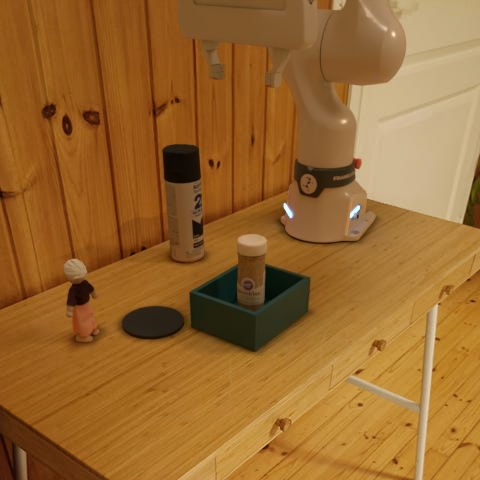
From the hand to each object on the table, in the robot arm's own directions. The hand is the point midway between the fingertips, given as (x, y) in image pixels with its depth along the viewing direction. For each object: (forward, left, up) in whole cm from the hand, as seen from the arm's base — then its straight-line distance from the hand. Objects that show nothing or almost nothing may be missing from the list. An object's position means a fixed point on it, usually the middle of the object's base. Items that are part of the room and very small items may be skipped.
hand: (244, 83), depth 83 cm
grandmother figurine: (+23, -13, -34) cm, 43 cm away
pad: (+14, -8, -33) cm, 37 cm away
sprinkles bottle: (+3, +4, -33) cm, 34 cm away
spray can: (-10, -20, -34) cm, 40 cm away
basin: (+3, +4, -33) cm, 34 cm away
